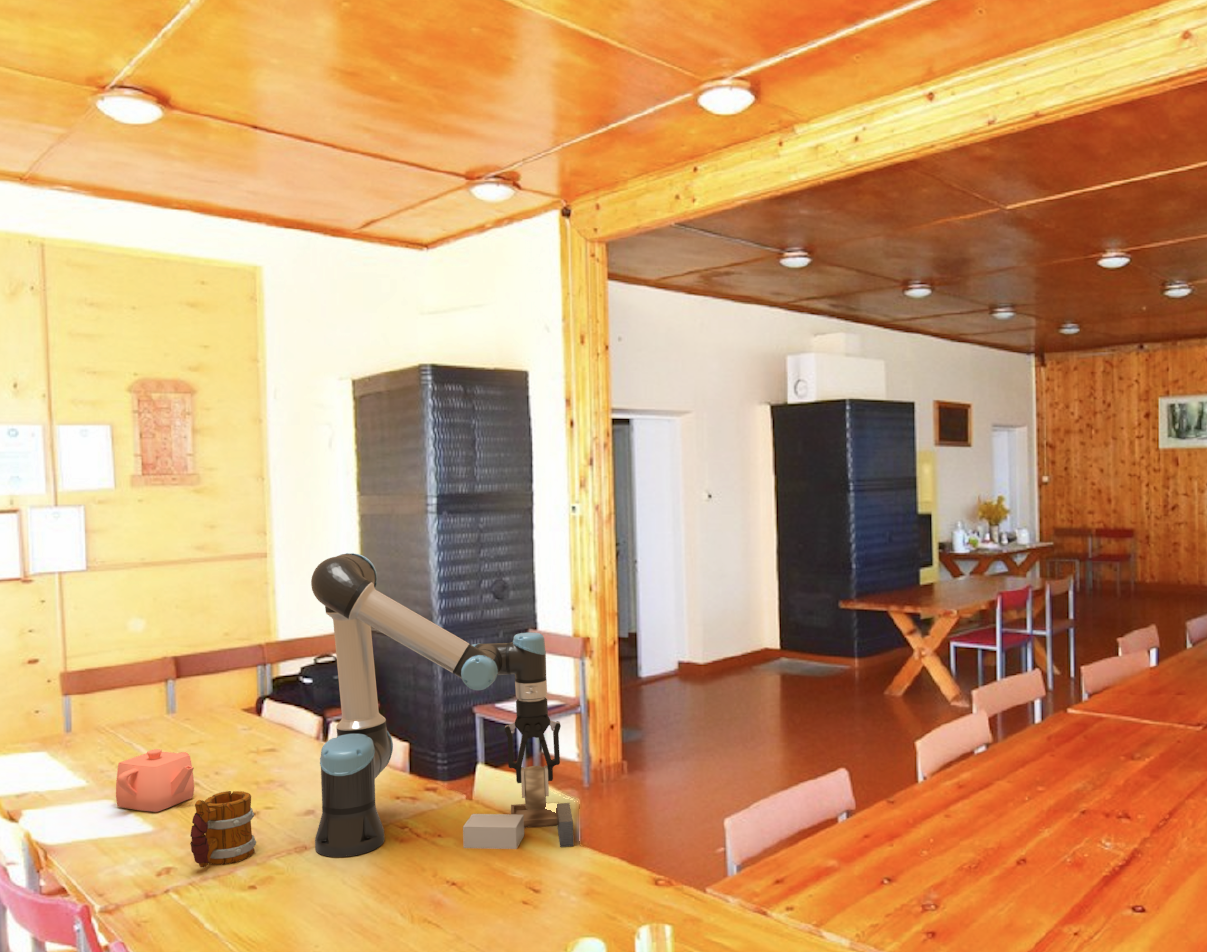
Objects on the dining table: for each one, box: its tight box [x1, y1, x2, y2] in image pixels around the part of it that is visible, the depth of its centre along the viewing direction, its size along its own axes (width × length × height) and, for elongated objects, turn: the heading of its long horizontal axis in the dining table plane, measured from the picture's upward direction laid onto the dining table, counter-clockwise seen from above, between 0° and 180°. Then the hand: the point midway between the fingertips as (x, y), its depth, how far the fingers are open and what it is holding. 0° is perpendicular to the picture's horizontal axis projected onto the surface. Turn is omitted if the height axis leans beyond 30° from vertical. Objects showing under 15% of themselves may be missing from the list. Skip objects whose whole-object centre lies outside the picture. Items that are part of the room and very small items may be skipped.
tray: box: [510, 803, 557, 829], centre depth 225 cm, size 12×12×2 cm
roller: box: [524, 765, 547, 810], centre depth 225 cm, size 5×5×9 cm
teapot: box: [115, 748, 195, 813], centre depth 244 cm, size 20×22×14 cm
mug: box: [190, 790, 257, 868], centre depth 206 cm, size 11×16×15 cm, turn 161°
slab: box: [462, 813, 525, 850], centre depth 211 cm, size 12×8×5 cm, turn 83°
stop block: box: [557, 802, 575, 848], centre depth 213 cm, size 3×12×6 cm, turn 6°
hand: (535, 795), depth 225 cm, fingers closed on roller, 5 cm apart
